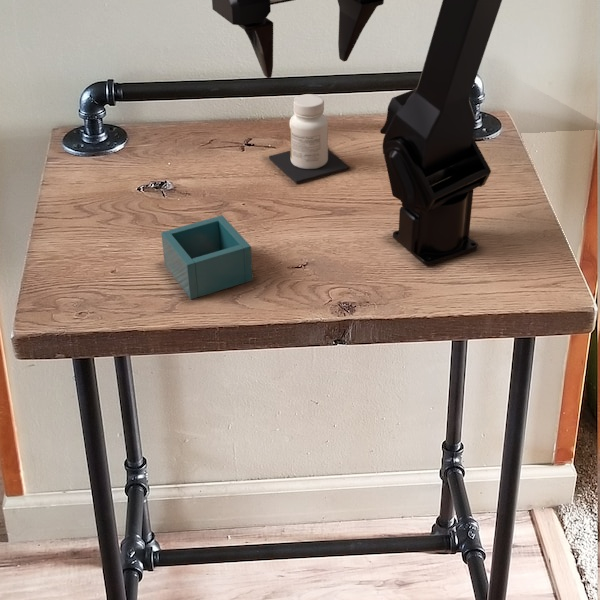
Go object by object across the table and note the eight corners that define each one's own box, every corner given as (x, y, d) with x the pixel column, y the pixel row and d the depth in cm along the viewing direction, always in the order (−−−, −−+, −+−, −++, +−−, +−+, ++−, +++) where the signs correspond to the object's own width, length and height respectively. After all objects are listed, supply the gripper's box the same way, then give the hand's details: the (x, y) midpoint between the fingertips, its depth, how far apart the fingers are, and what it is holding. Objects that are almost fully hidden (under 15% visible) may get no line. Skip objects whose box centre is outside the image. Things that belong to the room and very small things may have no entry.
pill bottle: (304, 149, 117) (303, 88, 113) (335, 158, 115) (335, 97, 111) (282, 164, 115) (281, 102, 110) (314, 173, 113) (313, 111, 108)
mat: (320, 145, 119) (320, 142, 119) (349, 169, 114) (349, 166, 114) (268, 159, 116) (268, 156, 116) (296, 184, 111) (296, 181, 111)
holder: (224, 248, 101) (222, 214, 98) (252, 280, 96) (251, 246, 94) (164, 266, 98) (160, 232, 96) (190, 299, 94) (187, 265, 91)
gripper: (345, -111, 106) (344, 29, 115) (185, -88, 99) (197, 59, 109) (400, -88, 98) (394, 61, 107) (230, -61, 91) (239, 96, 100)
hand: (305, 68), depth 106 cm, fingers open, 9 cm apart
